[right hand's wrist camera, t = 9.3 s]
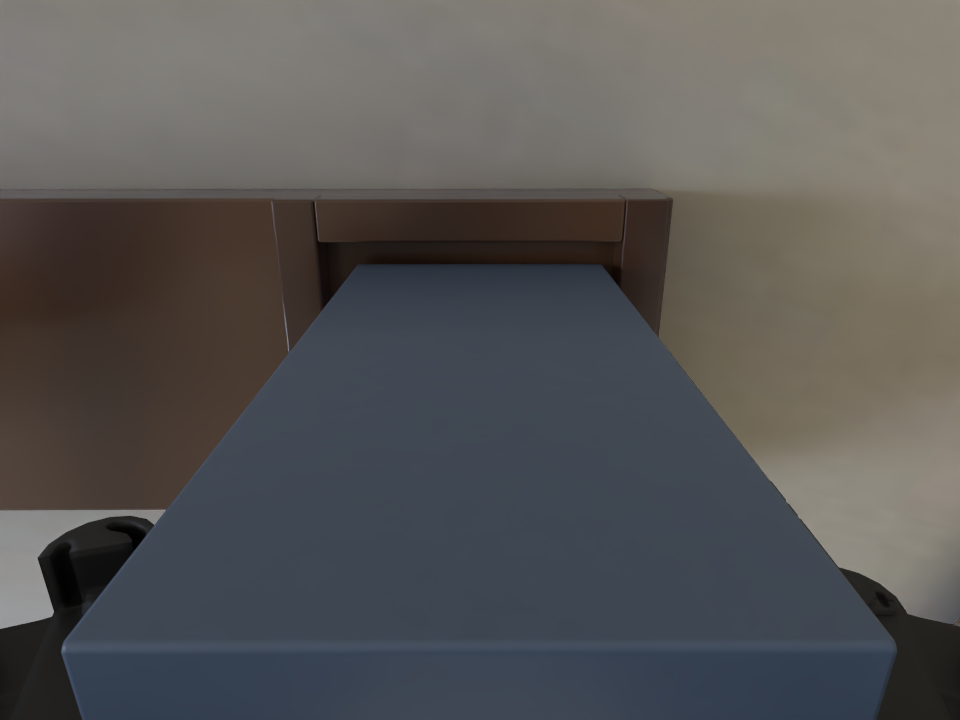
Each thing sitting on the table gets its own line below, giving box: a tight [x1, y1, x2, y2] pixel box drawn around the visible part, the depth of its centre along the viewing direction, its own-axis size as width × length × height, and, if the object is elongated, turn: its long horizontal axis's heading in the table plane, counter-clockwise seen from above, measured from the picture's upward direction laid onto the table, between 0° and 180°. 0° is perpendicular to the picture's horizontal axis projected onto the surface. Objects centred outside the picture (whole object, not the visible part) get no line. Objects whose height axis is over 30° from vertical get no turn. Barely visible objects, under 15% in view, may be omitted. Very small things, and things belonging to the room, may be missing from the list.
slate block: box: [61, 264, 897, 720], centre depth 11 cm, size 6×6×12 cm
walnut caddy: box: [0, 189, 673, 510], centre depth 14 cm, size 28×9×10 cm, turn 90°
